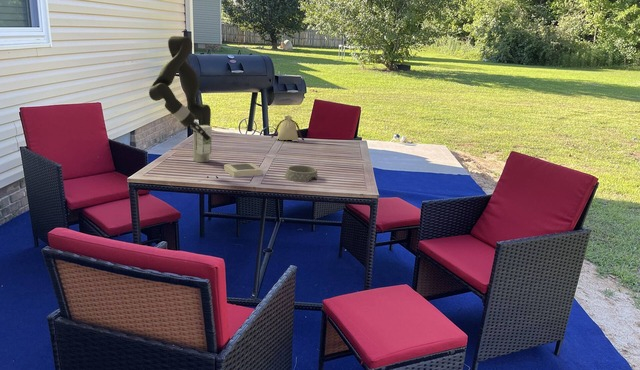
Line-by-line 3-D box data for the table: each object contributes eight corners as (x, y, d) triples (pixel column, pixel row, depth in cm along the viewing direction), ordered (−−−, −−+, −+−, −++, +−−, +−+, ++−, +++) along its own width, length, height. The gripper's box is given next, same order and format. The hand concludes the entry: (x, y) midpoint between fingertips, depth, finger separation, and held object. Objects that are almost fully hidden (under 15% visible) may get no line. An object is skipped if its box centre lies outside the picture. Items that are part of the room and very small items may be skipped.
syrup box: (204, 151, 260) (204, 124, 256) (211, 153, 257) (211, 126, 253) (195, 152, 256) (195, 125, 252) (202, 155, 252) (202, 127, 248)
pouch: (304, 141, 369) (305, 115, 364) (304, 143, 361) (305, 117, 356) (271, 139, 368) (271, 113, 363) (270, 141, 360) (271, 115, 355)
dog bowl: (324, 179, 268) (324, 169, 266) (300, 184, 255) (301, 174, 253) (301, 172, 279) (302, 163, 277) (278, 177, 265) (278, 167, 264)
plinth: (224, 169, 273) (224, 164, 272) (251, 167, 280) (251, 162, 279) (233, 177, 259) (233, 171, 258) (261, 174, 267) (262, 169, 266)
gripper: (192, 112, 241) (215, 135, 249) (185, 108, 253) (207, 129, 261) (181, 123, 240) (205, 145, 248) (175, 118, 252) (198, 140, 260)
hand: (206, 137), depth 255 cm, fingers closed on syrup box, 7 cm apart
